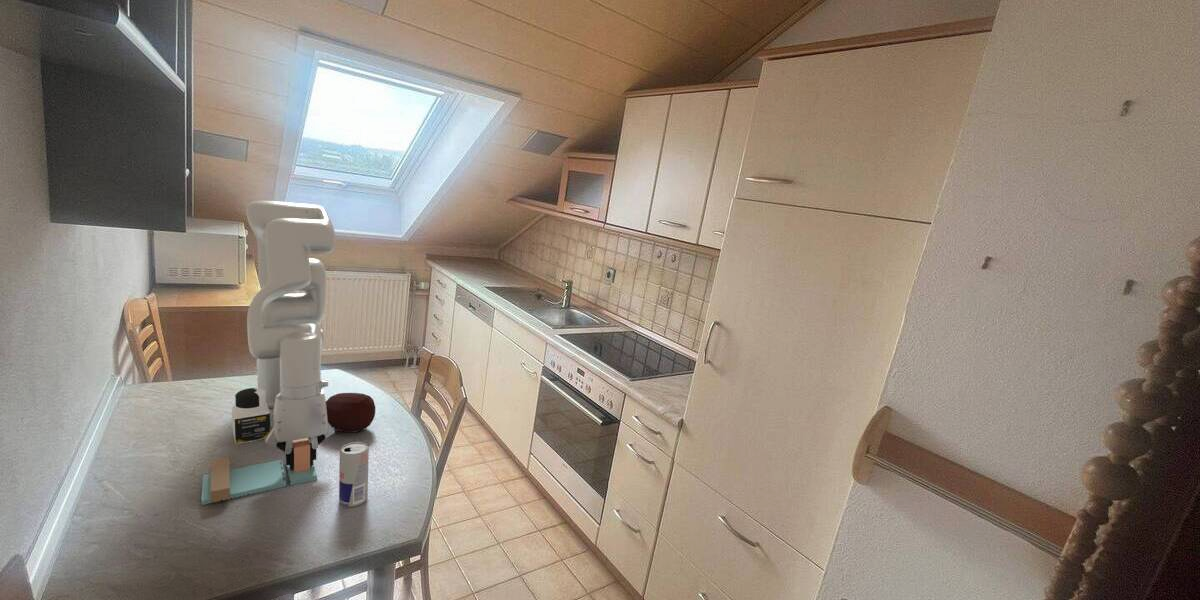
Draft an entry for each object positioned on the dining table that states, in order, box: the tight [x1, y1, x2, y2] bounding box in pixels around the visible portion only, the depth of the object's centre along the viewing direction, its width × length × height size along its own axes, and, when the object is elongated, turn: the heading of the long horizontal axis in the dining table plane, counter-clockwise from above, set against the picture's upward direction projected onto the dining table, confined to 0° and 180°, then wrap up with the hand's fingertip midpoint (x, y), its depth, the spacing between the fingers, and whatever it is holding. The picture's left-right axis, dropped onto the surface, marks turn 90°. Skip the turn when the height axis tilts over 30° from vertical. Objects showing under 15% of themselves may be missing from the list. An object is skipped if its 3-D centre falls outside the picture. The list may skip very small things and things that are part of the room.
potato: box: [326, 392, 376, 433], centre depth 128 cm, size 11×13×10 cm
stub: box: [285, 438, 318, 486], centre depth 108 cm, size 10×5×7 cm, turn 37°
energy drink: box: [338, 441, 370, 508], centre depth 100 cm, size 5×5×12 cm
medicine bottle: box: [231, 387, 272, 445], centre depth 119 cm, size 7×7×12 cm
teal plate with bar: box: [200, 456, 287, 506], centre depth 102 cm, size 13×14×3 cm
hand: (301, 464), depth 108 cm, fingers closed on stub, 3 cm apart
